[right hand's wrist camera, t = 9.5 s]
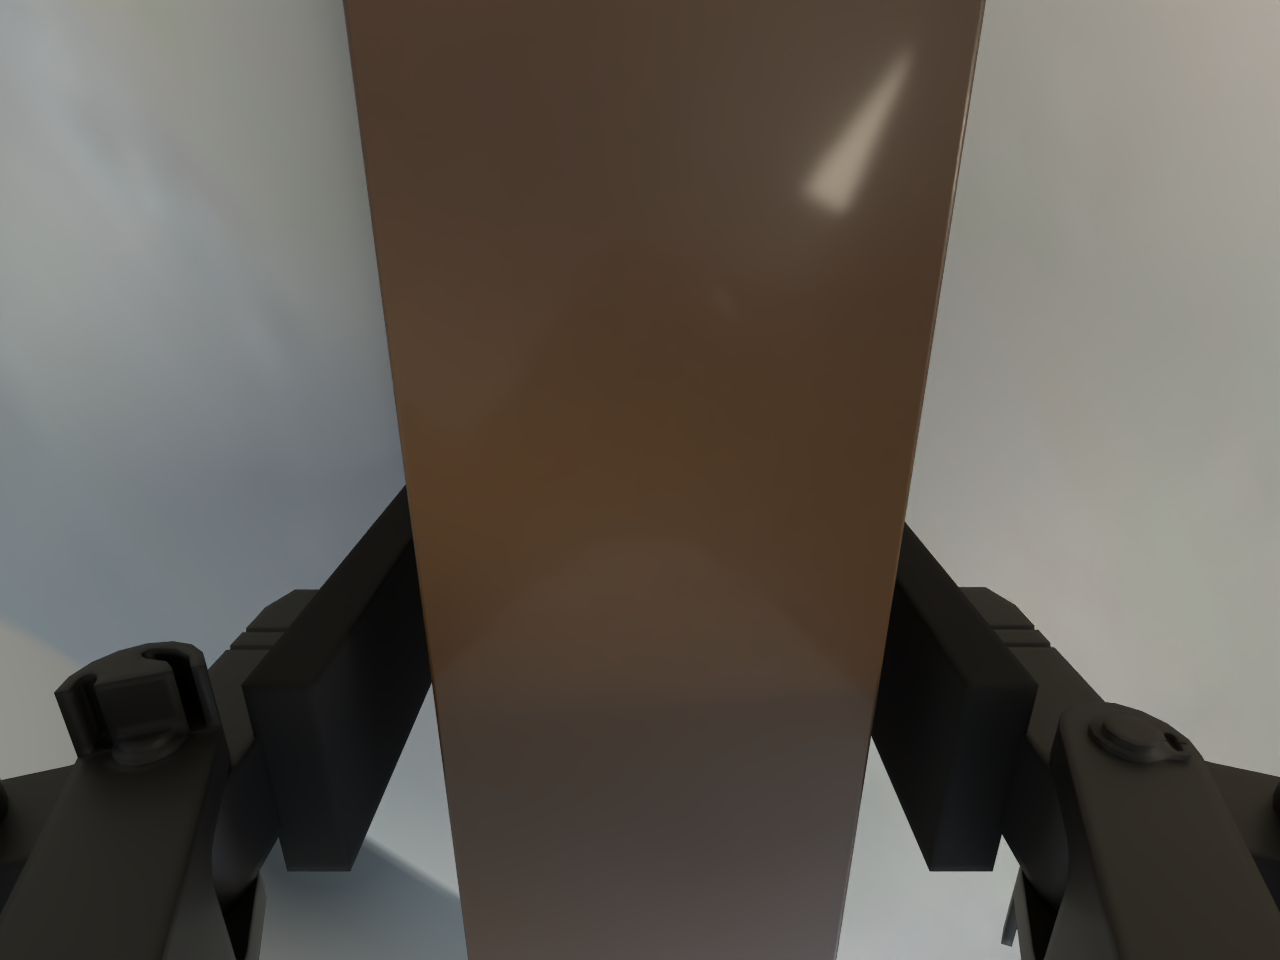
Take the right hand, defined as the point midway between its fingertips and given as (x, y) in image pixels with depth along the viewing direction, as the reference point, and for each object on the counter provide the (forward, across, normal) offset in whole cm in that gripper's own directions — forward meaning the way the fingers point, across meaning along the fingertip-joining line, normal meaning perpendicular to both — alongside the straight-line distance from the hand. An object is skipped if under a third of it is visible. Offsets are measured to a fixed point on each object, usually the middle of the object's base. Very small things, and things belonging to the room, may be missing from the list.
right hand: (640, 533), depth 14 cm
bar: (+2, 0, -36) cm, 36 cm away
